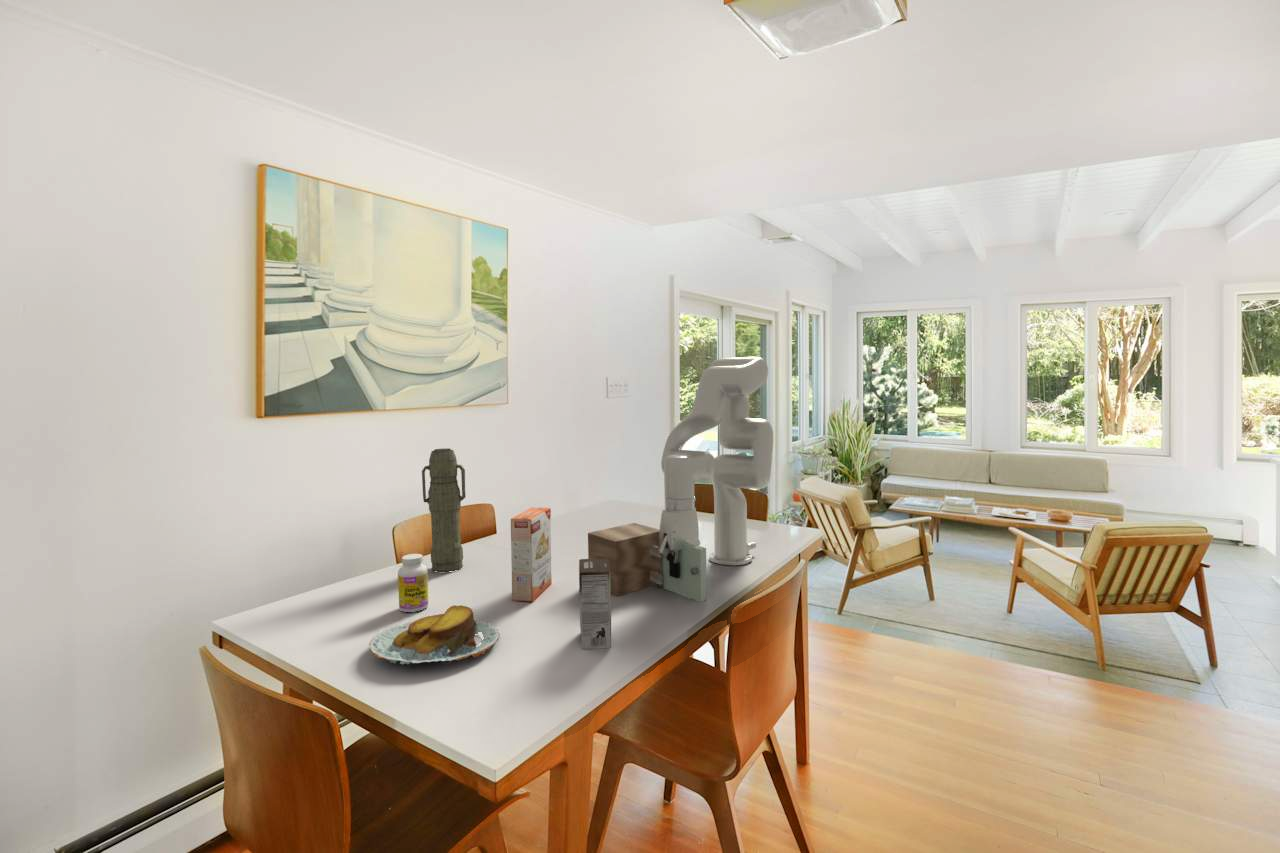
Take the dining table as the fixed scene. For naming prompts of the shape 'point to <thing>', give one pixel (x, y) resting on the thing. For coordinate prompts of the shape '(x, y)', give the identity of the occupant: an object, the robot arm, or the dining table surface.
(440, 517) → the thermos
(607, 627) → the coffee box
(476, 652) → the food on plate
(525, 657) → the dining table surface
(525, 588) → the cracker box
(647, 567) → the cabinet
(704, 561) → the door
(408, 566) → the supplement bottle
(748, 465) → the robot arm
